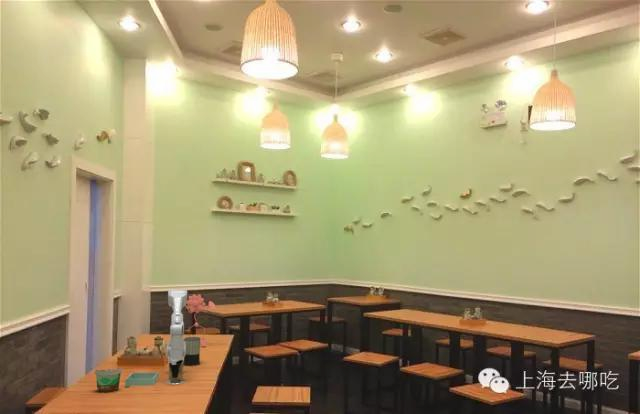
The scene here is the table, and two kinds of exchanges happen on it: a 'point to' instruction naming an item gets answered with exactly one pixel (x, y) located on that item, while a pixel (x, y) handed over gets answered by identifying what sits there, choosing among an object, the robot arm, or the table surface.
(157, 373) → the teal bin
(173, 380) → the brown wooden block
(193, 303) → the pink flower branch
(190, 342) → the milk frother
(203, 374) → the table surface
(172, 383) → the steel base plate
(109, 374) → the food container
